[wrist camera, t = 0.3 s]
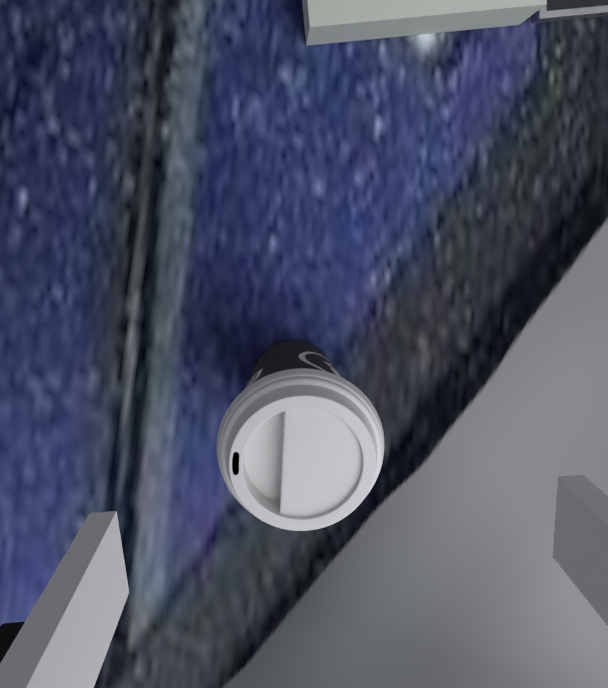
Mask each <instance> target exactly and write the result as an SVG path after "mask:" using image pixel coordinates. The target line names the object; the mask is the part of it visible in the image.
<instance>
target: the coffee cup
mask: <svg viewBox="0 0 608 688" xmlns="http://www.w3.org/2000/svg"><path fill="white" fill-rule="evenodd" d="M383 455H384V434H383V428H382V425H381V421H380V419H379V416H378V414H377V412H376V410H375V408H374V406H373V405H372V403H371V402H370V401H369V399H368V398H367V397H366V396H365V395H364V394H363V392H361V391H360V390H359V389H358V388H357V387H356V386H354V385H353V384H352V383H350V382H349V381H347V380H345V379H344V378H342V377H341V376H340V375H339V373H338V372H337V371H336V369H335V368H334V366H333V365H332V364H331V362H330V361H329V360H328V358H327V357H326V356H325V355H324V354H323V352H321V351H320V350H319V349H318V348H316V347H315V346H313V345H311V344H309V343H306V342H302V341H285V342H281V343H278V344H276V345H274V346H272V347H270V348H269V349H267V350H266V351H265V352H264V353H263V354H262V355H261V357H260V358H259V359H258V361H257V363H256V365H255V367H254V369H253V372H252V374H251V376H250V379H249V381H248V383H247V386H246V388H245V390H243V391H242V392H241V393H240V394H239V395H238V396H237V397H236V398H235V400H234V401H233V402H232V404H231V405H230V406H229V408H228V410H227V411H226V413H225V415H224V417H223V419H222V422H221V425H220V428H219V432H218V437H217V458H218V464H219V468H220V471H221V474H222V476H223V479H224V481H225V483H226V485H227V487H228V489H229V490H230V492H231V493H232V495H233V496H234V497H235V498H236V500H237V501H238V502H239V503H240V504H241V505H242V506H243V507H244V508H245V509H247V510H248V511H249V512H251V513H252V514H253V515H255V516H256V517H257V518H259V519H260V520H262V521H264V522H266V523H268V524H270V525H272V526H275V527H278V528H282V529H287V530H294V531H307V530H315V529H319V528H323V527H326V526H329V525H332V524H334V523H336V522H338V521H340V520H342V519H343V518H345V517H346V516H348V515H349V514H350V513H351V512H353V511H354V510H355V509H356V508H357V507H358V506H359V505H360V503H361V502H362V501H363V500H364V498H365V497H366V496H367V495H368V493H369V492H370V490H371V489H372V487H373V485H374V484H375V482H376V480H377V477H378V475H379V472H380V469H381V466H382V461H383Z"/></svg>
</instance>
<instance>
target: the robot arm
mask: <svg viewBox="0 0 608 688" xmlns="http://www.w3.org/2000/svg"><path fill="white" fill-rule="evenodd" d="M553 558H554V559H555V560H556V561H557V563H558V564H559V565H560V567H561V568H562V569H563V570H564V572H565V573H566V574H567V575H568V576H569V578H570V579H571V580H572V582H573V583H574V584H575V585H576V586H577V588H578V589H579V590H580V592H581V593H582V594H583V595H584V597H585V598H586V599H587V600H588V601H589V603H590V604H591V605H592V607H593V608H594V609H595V610H596V611H597V613H598V614H599V615H600V617H601V618H602V619H603V620H604V622H605V623H606V624H607V625H608V496H607V495H606V494H604V493H603V492H602V491H601V490H600V489H599V488H597V487H596V486H595V485H594V484H593V483H592V482H591V481H589V480H588V479H587V478H586V477H585V476H584V475H577V476H576V475H575V476H563V477H558V485H557V501H556V517H555V532H554V546H553ZM128 594H129V588H128V582H127V576H126V569H125V563H124V556H123V550H122V543H121V537H120V531H119V524H118V518H117V511H112V512H99V513H90V514H89V515H88V517H87V519H86V520H85V522H84V524H83V525H82V527H81V529H80V530H79V532H78V534H77V536H76V537H75V539H74V541H73V542H72V544H71V546H70V547H69V549H68V551H67V552H66V554H65V556H64V557H63V559H62V561H61V562H60V564H59V566H58V567H57V569H56V571H55V572H54V574H53V576H52V578H51V579H50V581H49V583H48V584H47V586H46V588H45V589H44V591H43V593H42V594H41V596H40V598H39V599H38V601H37V603H36V604H35V606H34V608H33V609H32V611H31V613H30V614H29V616H28V618H27V620H26V621H25V622H17V623H5V624H2V625H1V626H0V688H94V685H95V683H96V680H97V677H98V675H99V672H100V669H101V666H102V664H103V661H104V658H105V656H106V653H107V650H108V648H109V645H110V642H111V640H112V637H113V634H114V632H115V629H116V626H117V623H118V621H119V618H120V615H121V613H122V610H123V607H124V605H125V602H126V599H127V597H128Z"/></svg>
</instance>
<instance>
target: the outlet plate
mask: <svg viewBox="0 0 608 688" xmlns="http://www.w3.org/2000/svg"><path fill="white" fill-rule="evenodd" d="M546 4H547V0H302V6H303V17H304V28H305V39H306V46H308V45H318V44H328V43H339V42H349V41H359V40H369V39H379V38H390V37H400V36H410V35H420V34H430V33H441V32H451V31H461V30H471V29H481V28H492V27H502V26H512V25H519V24H521V23H522V22H523V21H525V20H526V19H527V18H529V17H530V16H531V15H533V14H534V13H535V12H537V11H538V10H540V9H541V8H542V7H544V6H545V5H546Z"/></svg>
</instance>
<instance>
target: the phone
mask: <svg viewBox="0 0 608 688" xmlns="http://www.w3.org/2000/svg"><path fill="white" fill-rule="evenodd" d="M604 16H608V0H547V4H546V5H545V6H544V7H542V8H541V9H540V10H538V11H537V12H535V13H534V14H533V23H543V22H553V21H563V20H573V19H584V18H594V17H604Z"/></svg>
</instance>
